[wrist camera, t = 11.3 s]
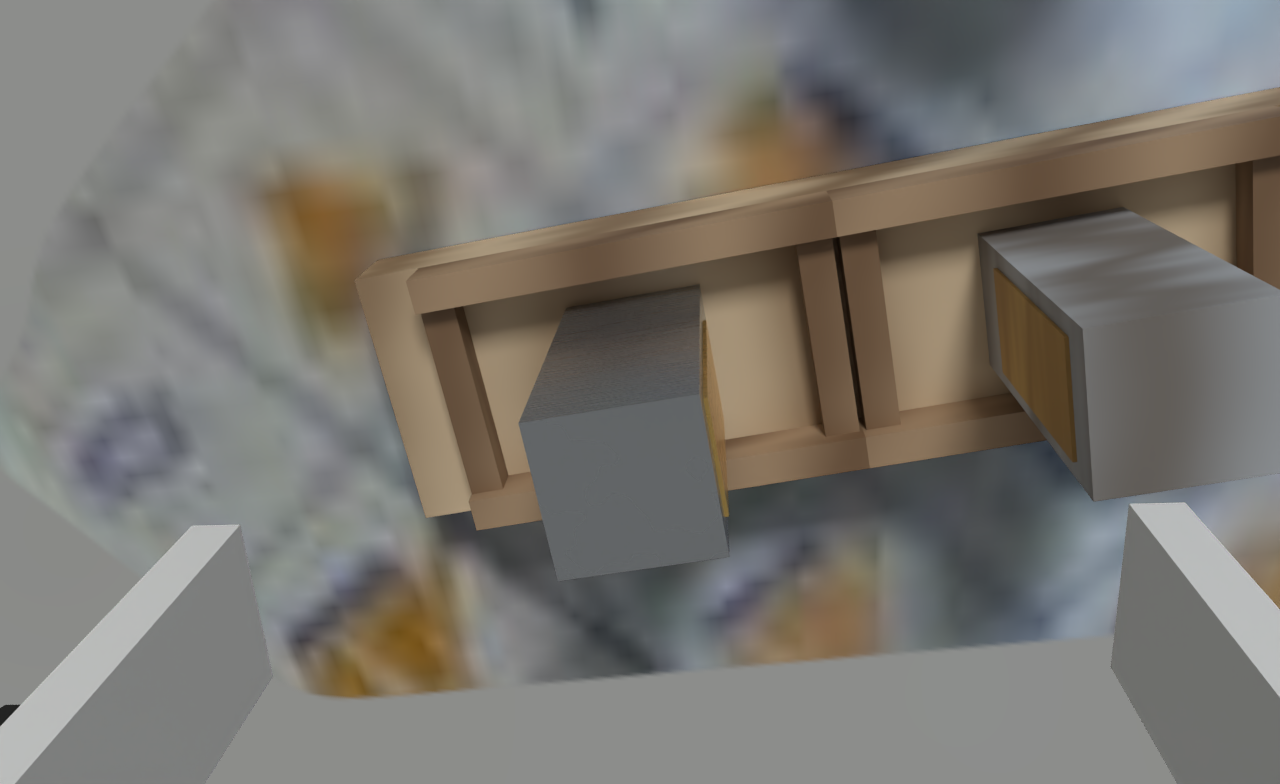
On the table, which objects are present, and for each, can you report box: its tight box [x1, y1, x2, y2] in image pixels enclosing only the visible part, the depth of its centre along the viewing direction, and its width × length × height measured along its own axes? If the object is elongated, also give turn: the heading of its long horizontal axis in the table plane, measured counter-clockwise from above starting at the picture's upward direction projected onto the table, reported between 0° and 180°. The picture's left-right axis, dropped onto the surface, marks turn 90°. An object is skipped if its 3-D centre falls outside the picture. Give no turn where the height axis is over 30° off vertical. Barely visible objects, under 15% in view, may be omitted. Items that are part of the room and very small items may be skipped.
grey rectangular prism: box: [518, 284, 730, 581], centre depth 28 cm, size 4×4×9 cm
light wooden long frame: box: [354, 87, 1280, 530], centre depth 29 cm, size 28×8×12 cm, turn 101°
